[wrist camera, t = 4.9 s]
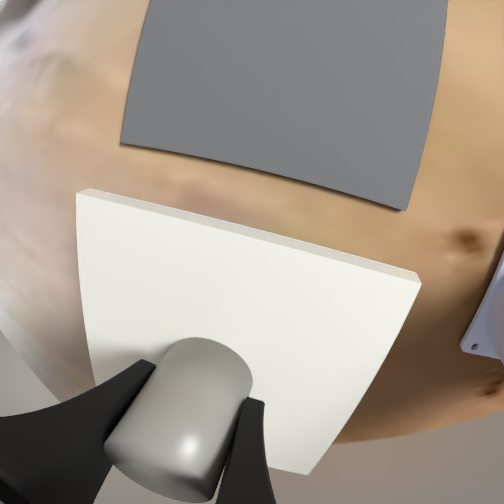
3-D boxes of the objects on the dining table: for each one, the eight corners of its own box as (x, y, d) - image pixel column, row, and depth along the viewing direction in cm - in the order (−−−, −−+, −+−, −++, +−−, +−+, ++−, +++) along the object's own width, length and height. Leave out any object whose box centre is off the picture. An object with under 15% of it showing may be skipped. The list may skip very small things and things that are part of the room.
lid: (416, 272, 10) (472, 406, 4) (309, 463, 15) (292, 556, 9) (89, 188, 11) (-35, 241, 6) (106, 395, 16) (53, 465, 11)
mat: (447, -42, 9) (449, -45, 8) (404, 209, 14) (405, 211, 14) (184, -80, 11) (182, -83, 10) (124, 142, 16) (120, 142, 16)
